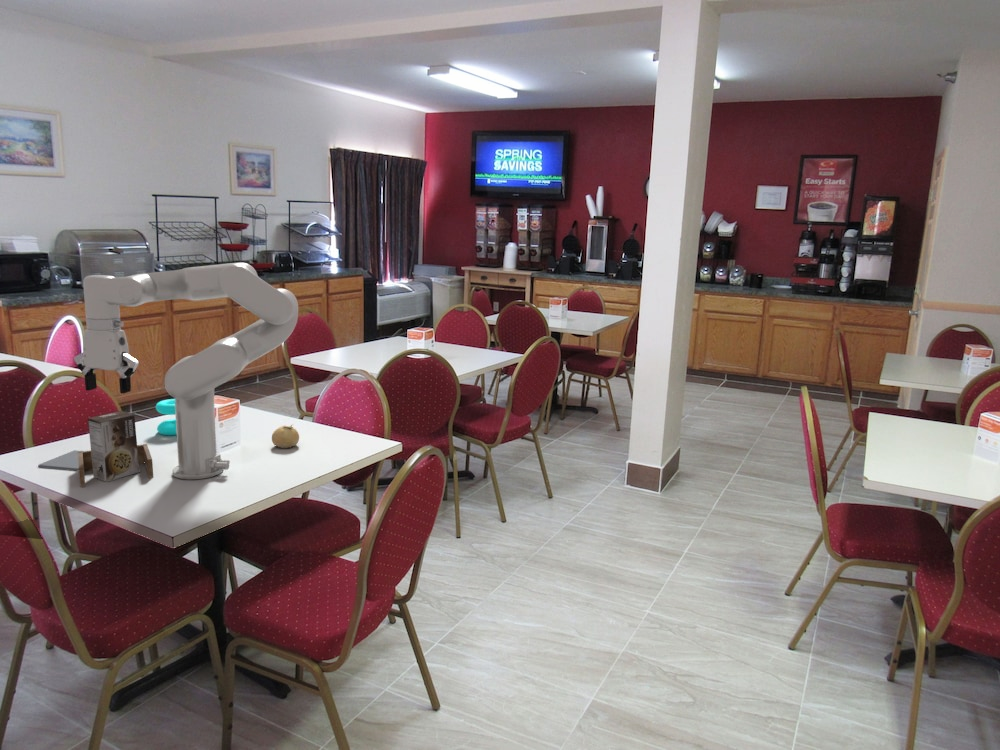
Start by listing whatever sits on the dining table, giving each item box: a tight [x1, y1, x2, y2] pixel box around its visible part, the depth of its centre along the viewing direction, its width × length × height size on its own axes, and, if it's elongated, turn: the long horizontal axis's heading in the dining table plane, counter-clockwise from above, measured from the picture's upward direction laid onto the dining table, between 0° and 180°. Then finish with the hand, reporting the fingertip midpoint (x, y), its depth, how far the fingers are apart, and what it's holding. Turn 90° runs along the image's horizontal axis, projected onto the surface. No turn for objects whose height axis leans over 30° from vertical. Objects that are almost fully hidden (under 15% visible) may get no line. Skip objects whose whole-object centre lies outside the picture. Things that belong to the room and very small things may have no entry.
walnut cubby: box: [78, 443, 154, 488], centre depth 183 cm, size 16×14×5 cm
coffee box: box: [87, 410, 140, 483], centre depth 181 cm, size 9×6×16 cm
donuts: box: [155, 398, 177, 436], centre depth 221 cm, size 10×10×10 cm
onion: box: [271, 424, 300, 448], centre depth 211 cm, size 8×8×7 cm
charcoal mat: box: [38, 449, 83, 471], centre depth 192 cm, size 13×13×1 cm
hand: (108, 390), depth 178 cm, fingers open, 9 cm apart
